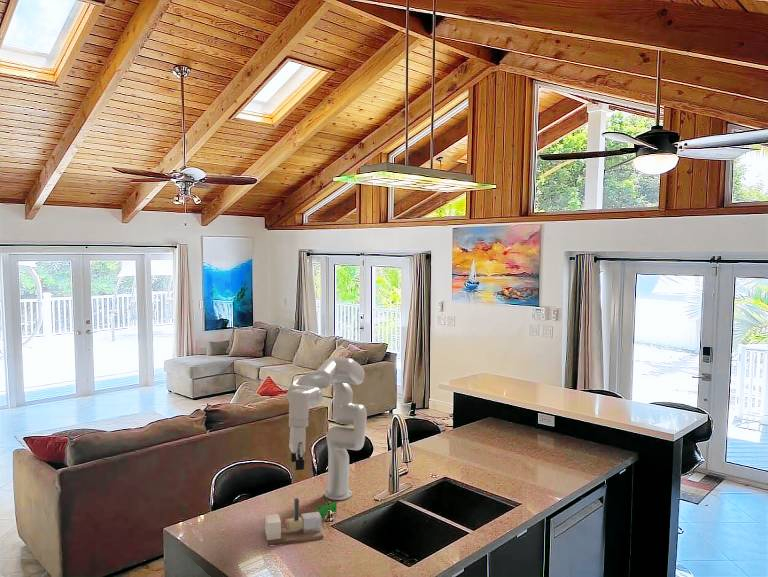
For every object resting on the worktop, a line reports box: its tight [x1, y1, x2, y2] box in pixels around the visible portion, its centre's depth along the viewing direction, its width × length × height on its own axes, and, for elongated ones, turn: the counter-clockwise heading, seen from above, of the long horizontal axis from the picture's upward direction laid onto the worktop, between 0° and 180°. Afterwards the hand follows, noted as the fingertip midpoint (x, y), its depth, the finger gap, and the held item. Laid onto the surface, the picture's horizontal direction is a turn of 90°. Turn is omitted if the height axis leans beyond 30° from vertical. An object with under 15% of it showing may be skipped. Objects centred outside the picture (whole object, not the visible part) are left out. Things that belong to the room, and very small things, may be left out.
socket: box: [264, 513, 282, 541], centre depth 223 cm, size 7×5×6 cm
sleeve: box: [300, 511, 322, 534], centre depth 227 cm, size 5×7×6 cm
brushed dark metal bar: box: [284, 497, 303, 530], centre depth 226 cm, size 3×13×11 cm, turn 109°
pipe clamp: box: [316, 501, 337, 521], centre depth 243 cm, size 11×4×5 cm, turn 145°
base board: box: [263, 525, 324, 547], centre depth 225 cm, size 12×21×1 cm, turn 109°
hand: (297, 465), depth 225 cm, fingers open, 9 cm apart
